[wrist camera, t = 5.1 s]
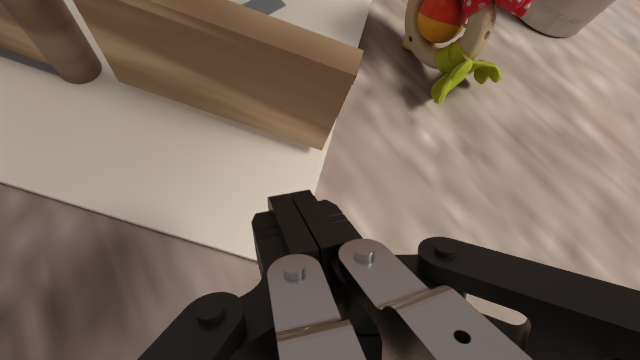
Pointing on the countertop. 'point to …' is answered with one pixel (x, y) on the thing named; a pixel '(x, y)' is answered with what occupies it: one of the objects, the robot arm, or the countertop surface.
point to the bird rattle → (446, 23)
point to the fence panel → (227, 62)
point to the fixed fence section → (48, 38)
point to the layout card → (157, 142)
